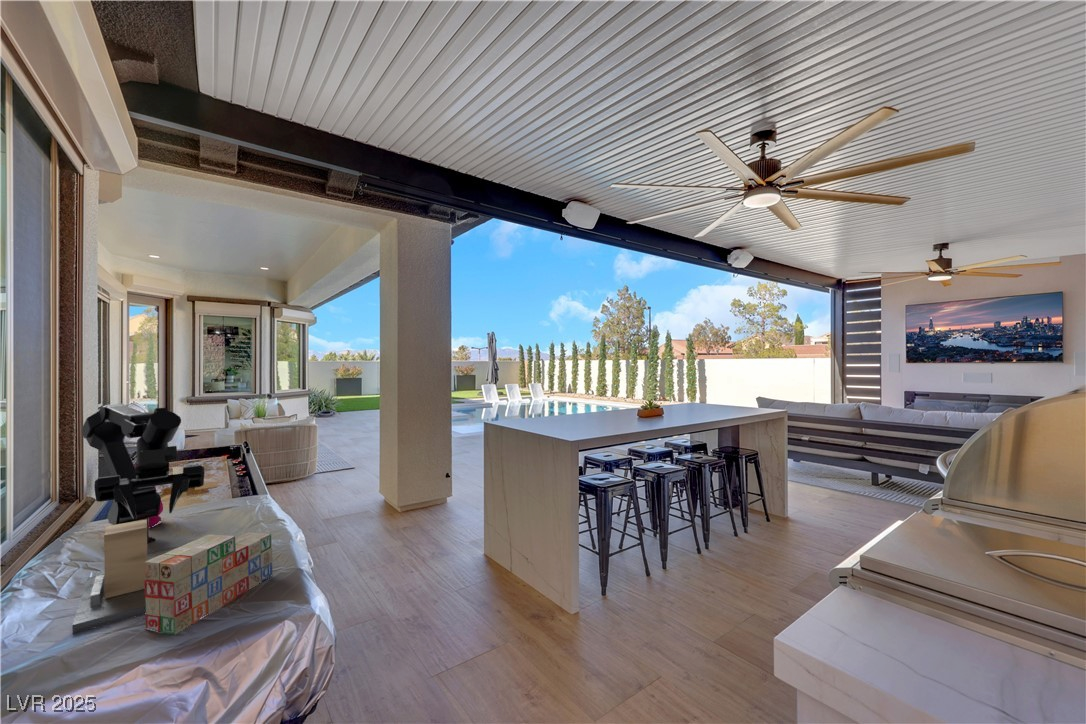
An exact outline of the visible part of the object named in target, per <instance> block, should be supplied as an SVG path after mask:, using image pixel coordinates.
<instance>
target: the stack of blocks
mask: <svg viewBox="0 0 1086 724" xmlns="http://www.w3.org/2000/svg"><path fill="white" fill-rule="evenodd" d="M271 575H272V576H273V548H272V533H263V532H248V531H247V532H245V533H243V534H240V535H238V536H235V535H225V534H224V535H221V534H220V535H219V534H210V533H209V534H206V535H205V536H202V537H200V538H197V539H195V540H193V541H190V542H188V543H186V544H183V545H181V546H179V547H176V548H174V549H172V550H169V551H167V552H165V553H163V554H159V555H157V556H155V557H153V558H151V559H147V561H146V562H145V578H146V579H145V601H146V614H145V629H146V628H149V629H152V630H155V631H158V632H163V633H162V634H166V633H167V634H168V635H173V634H174V636H175V635H177V634H179V633H180V631H181V632H182V631H184V630H186V629H187V628H189V627H191V626H192V625H191V624H193V623H194V624H196V623H197V622H196V621H198V620H199V619H200V618H201V617H203V616H205V615H207V614H209V613H211V612H213V611H214V612H216V611H218V610H219V609H221V608H223V607H224V606H225V605H226V604H228V603H230V602H232V601H233V600H235V599H236V598H238V597H241V595H243V594H245V593H247V592H248V591H249V590H251V589H253V588H254V587H257V586H258V585H260V584H261V583H263V582H264V581H263V580H265V579H266V578H268V577H270V576H271ZM272 576H271V577H272ZM271 577H270V578H271ZM268 579H269V578H268ZM266 580H267V579H266ZM266 580H265V581H266ZM262 581H263V582H262ZM259 583H260V584H259ZM217 609H218V610H217ZM215 610H216V611H215ZM214 612H213V613H214ZM211 614H212V613H211ZM209 615H210V614H209ZM199 621H200V620H199ZM199 621H198V622H199ZM195 622H196V623H195ZM194 624H193V625H194ZM190 625H191V626H190ZM188 626H189V627H188ZM186 627H187V628H186ZM185 628H186V629H185ZM183 629H184V630H183ZM158 632H157V633H158ZM178 632H179V633H178Z"/></svg>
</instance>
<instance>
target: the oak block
mask: <svg viewBox="0 0 1086 724" xmlns="http://www.w3.org/2000/svg"><path fill="white" fill-rule="evenodd" d="M103 543H104V544H103V547H104V548H103V549H104V551H103V555H104V557H103V558H104V559H103V560H104V563H103V564H104V574H105V598H110V597H114V596H118V595H122V594H126V593H130V592H134V591H138V590H142V589H145V579H146V578H145V562H146V561H148V543H147V519H145V520H139V521H134V522H128V523H122V524H116V525H112V524H110V525H106V528H105V531H104V535H103Z"/></svg>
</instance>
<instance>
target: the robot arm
mask: <svg viewBox="0 0 1086 724" xmlns="http://www.w3.org/2000/svg"><path fill="white" fill-rule="evenodd" d="M181 423H182V418H181V416H179V415H178V414H177V413H175V412H173V411H169V410H167V407H157V408H156V407H155V408H154V411H147V412H142V411H140V410H137V409H135V408H133V407H129V405H128V404H125V403H116V404H115V403H113V404H104V405H102V406H100V408H99V410H98V411H96V412H95V413H93V414H92V415H90V416H88V417H87V418H86V419H85V421H84V423H83V426H82V429H81V430H82V431H81V434H82V437H83V439H85V440H86V441H87V444H88V445H89V446H90V447H92V448H93V449H95V450H98V451H100V452H101V454H102V456H103V459H104V461H105V464H106V466H107V469H108V472H109V473H110V475H109V476H100V477H98V478H97V479H96V480H95V481H94V494H95V495H94V496H95V500H96V502H100V503H102V502H108V501H112V504H111V506H110V508H109V511H108V513H107V520H108V523H109V524H110V525H116V524H122V523H128V522H134V521H139V520H145V519H147V544H150V543H153V542H156V540H157V539H156V538H154V537H151V536H150V528H149V517H153V516H158V513H159V508H160V502H161V501H162V497H161V496H160V494H159V492H156V491H157V488H156V489H155V488H154V486H156V487H158V486H166V485H171V491H170V496H169V497H170V498H169V502H168V503H169V504H168V506H169V507H168V512H169V514H172V513H173V510H174V508H175V507H176V504H177V502H178V500H179V499H180V497H181V496H182V494H183V493H186V492H189V490H190V489H196V488H201V487H203V486H204V485H205V484H204V483H205V482H204V481H205V467H204V466H203V465H202V464H198V465H190V466H183V467H182V473H175V474H169V473H170V462H177V461H178V449H177V448H178V447H177V445H172V446H169V443H170V442H171V441H173V439H174V436H175V435H176V432H177V431H178V430H179V427H180V425H182V424H181ZM125 438H128V439H136V438H138V439H137V440H136V460H135V461H136V462H135V464H134V462H133V460H132V457H131V455H130V453H129V451H128V448H127V447H126V443H125V442H124V441H125ZM134 465H135V466H134Z"/></svg>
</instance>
